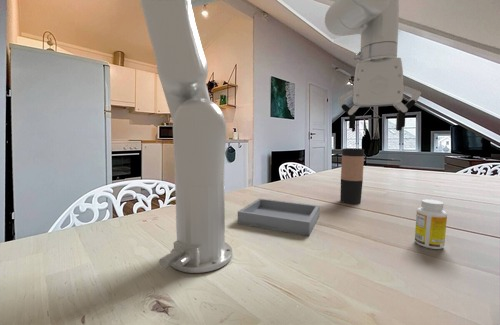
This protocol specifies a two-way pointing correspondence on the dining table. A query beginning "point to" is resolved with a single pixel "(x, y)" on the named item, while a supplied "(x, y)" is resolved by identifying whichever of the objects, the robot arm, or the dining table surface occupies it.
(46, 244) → the dining table surface
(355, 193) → the travel mug
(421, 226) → the supplement bottle
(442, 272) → the dining table surface
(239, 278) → the dining table surface
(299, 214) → the tray
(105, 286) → the dining table surface
